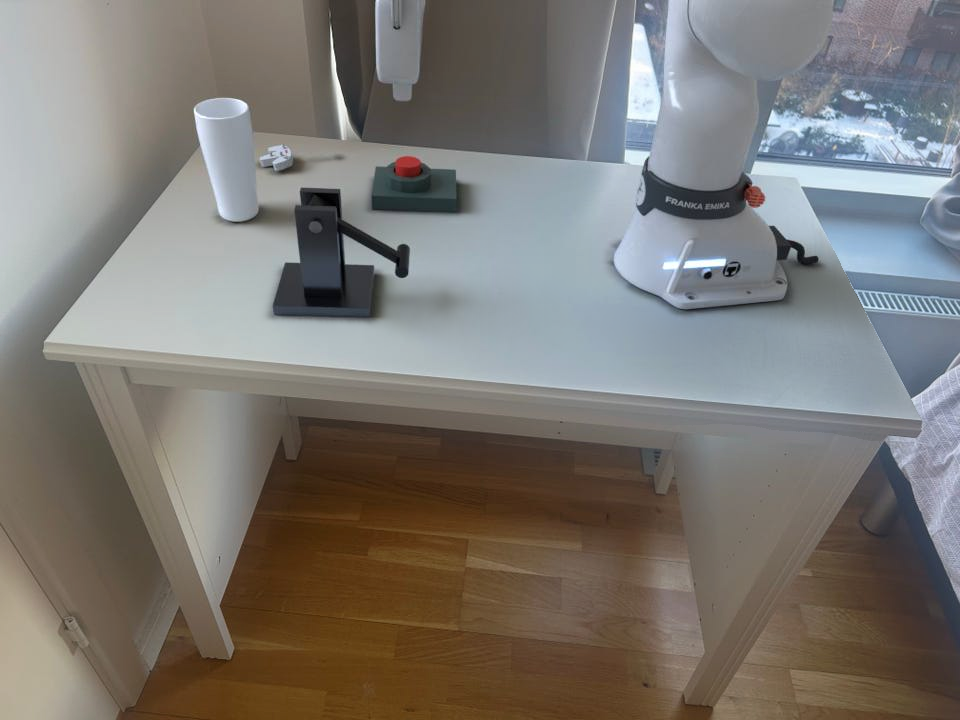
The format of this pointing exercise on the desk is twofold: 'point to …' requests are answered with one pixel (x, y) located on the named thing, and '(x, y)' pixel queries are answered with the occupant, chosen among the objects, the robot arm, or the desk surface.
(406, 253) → the black lever handle
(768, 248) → the robot arm
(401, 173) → the power button
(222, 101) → the drinking glass
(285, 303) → the lever base
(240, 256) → the desk surface
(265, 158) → the game controller
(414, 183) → the power block
